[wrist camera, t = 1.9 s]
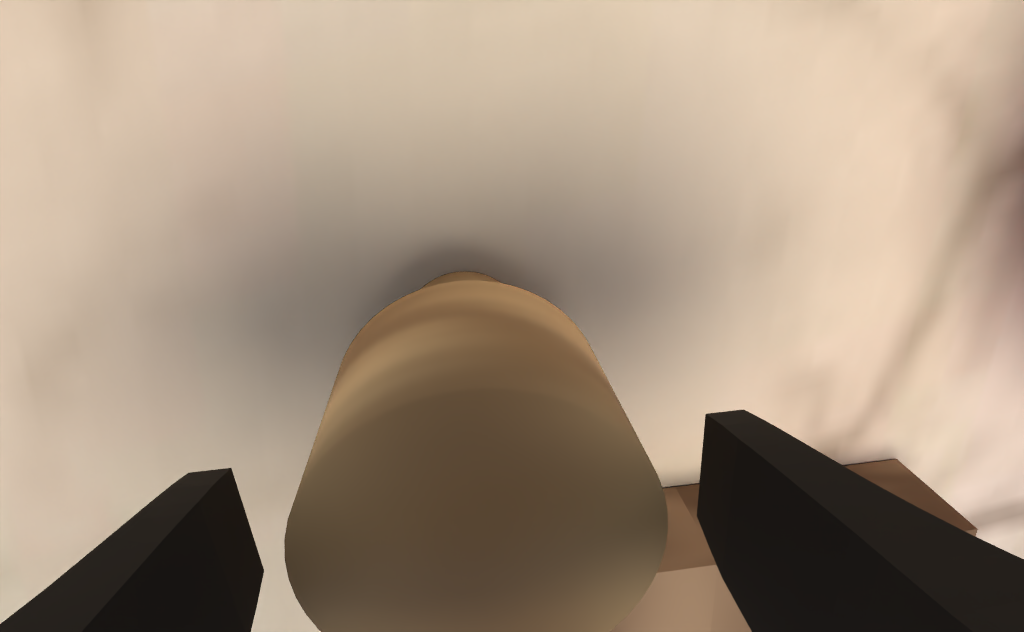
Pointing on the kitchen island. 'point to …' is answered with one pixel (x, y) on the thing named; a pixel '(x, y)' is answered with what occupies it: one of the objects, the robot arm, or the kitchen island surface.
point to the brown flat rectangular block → (696, 578)
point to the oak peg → (474, 476)
